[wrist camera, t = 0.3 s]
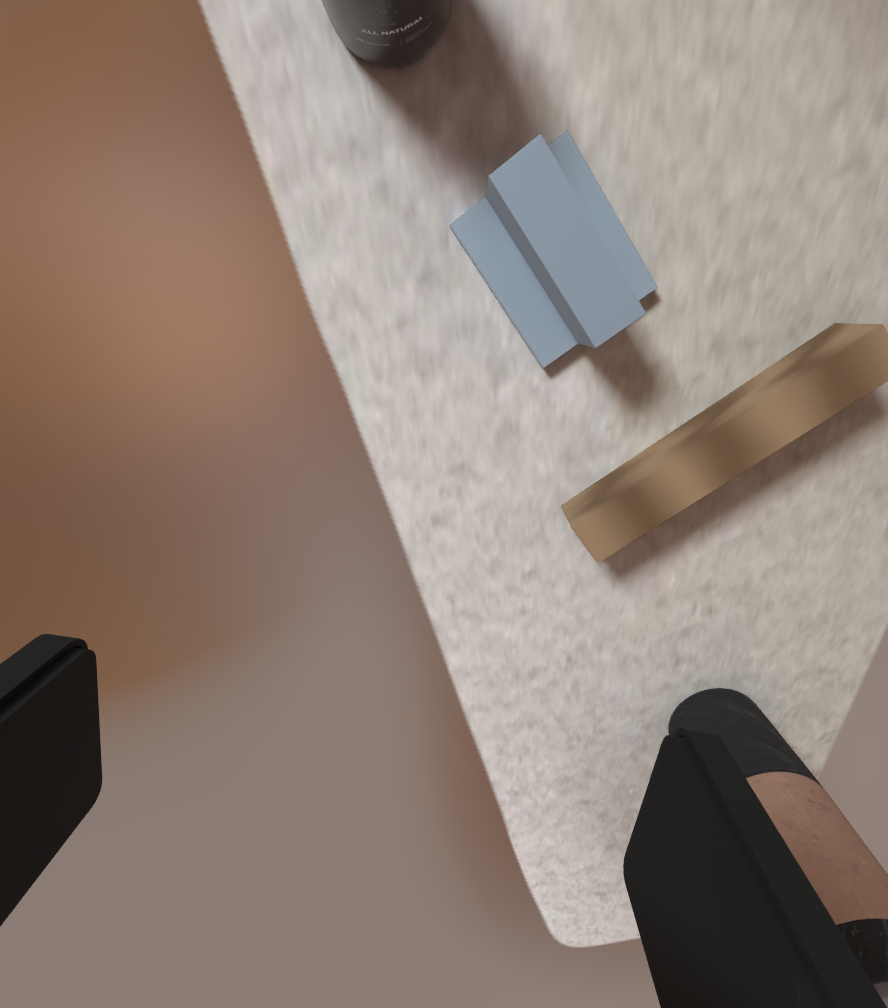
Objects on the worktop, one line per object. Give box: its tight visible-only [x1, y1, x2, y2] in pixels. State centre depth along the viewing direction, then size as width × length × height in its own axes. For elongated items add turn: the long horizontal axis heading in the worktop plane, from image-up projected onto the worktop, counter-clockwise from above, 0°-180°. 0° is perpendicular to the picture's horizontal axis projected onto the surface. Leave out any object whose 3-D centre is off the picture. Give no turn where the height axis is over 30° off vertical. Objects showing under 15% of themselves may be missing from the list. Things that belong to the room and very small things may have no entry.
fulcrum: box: [450, 130, 657, 368], centre depth 31 cm, size 8×10×6 cm
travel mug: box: [669, 688, 888, 1008], centre depth 35 cm, size 8×8×20 cm
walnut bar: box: [561, 323, 888, 563], centre depth 35 cm, size 20×3×4 cm, turn 127°
